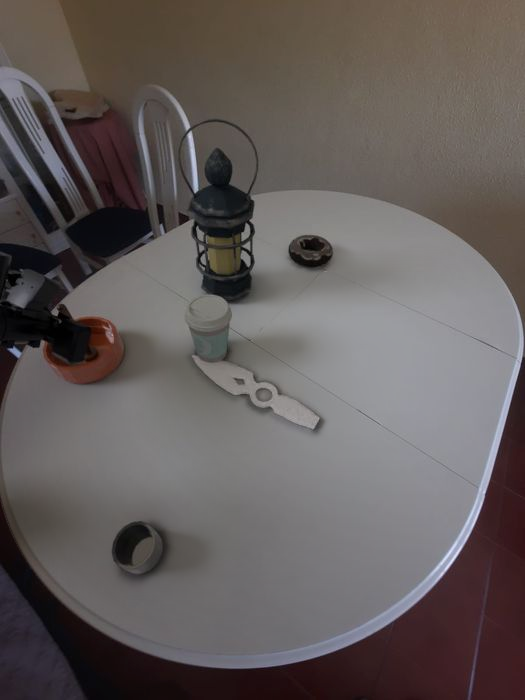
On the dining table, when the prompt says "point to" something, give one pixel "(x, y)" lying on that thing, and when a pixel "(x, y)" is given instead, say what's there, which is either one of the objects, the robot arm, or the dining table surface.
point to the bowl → (102, 366)
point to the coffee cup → (209, 326)
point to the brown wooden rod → (91, 350)
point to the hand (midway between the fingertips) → (81, 327)
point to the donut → (313, 258)
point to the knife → (280, 404)
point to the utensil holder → (137, 547)
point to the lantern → (222, 224)
